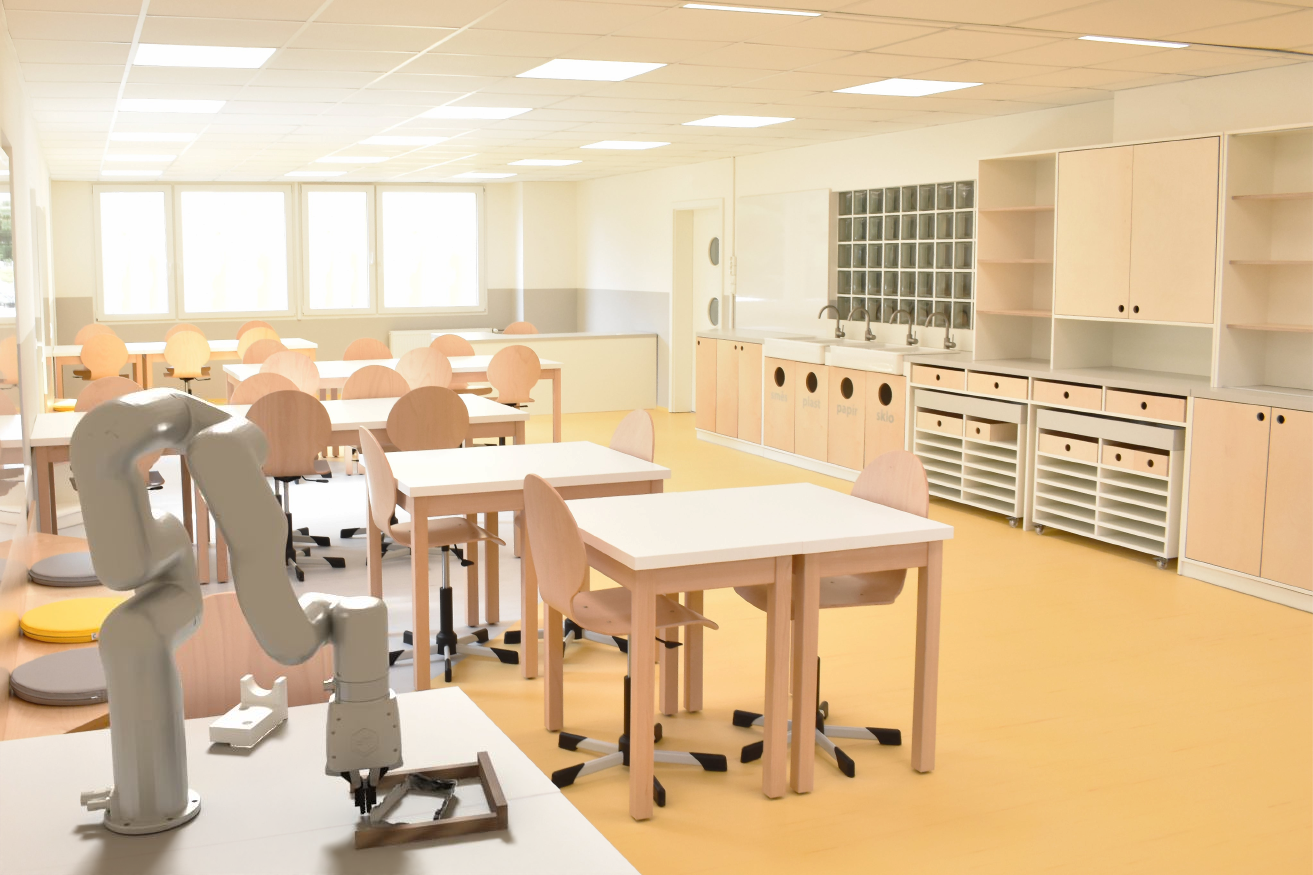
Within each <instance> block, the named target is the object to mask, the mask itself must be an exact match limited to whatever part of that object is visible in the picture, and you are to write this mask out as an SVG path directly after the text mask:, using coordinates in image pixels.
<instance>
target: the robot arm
mask: <svg viewBox="0 0 1313 875" xmlns="http://www.w3.org/2000/svg"><path fill="white" fill-rule="evenodd" d="M164 449H170V450H173V451H175V452H177V453H180V454H182V455H184V460H185V465H186V468H187V470H188V472H189V475H190V477H191V479H192V480H193V482H194V484H195V486H196V489H197V491H198V492H199V495H200V496H201V498H202V500H203V502H204V503H205V505H206V507H207V509H208V511H209V513H210V515H211V517H212V520H214V524H216V526H217V528H218V531H219V532H220V535H221V536H222V539H224V542H225V544H226V547H227V550H228V553H229V561H230V563H229V564H230V571H231V574H232V578H233V585H234V589H235V595H236V599H237V602H238V604H239V607H240V610H241V613H242V615H243V617H244V618H245V620H246V622H247V624H248V626H249V628H250V630H251V632H252V633H253V636H254V638H255V640H256V641H257V642H258V644H259V647H260V648H261V649H262V651H263V652H264V654H266V655H267V656H268V657H269V658H270V659H272V661H274V662H275V663H277V664H279V665H283V666H287V667H288V666H289V667H294V666H300V665H302V664H305V663H306V662H308V661H310V659H312V658H313V657H314V656H315V655H316V654H317V653H318V652H319V651H320V650H321V648H323V647H325V646H327V645H329V644H330V645H332V661H333V662H332V664H333V666H332V667H333V677H331V679H329V680H326V681H325V680H324V681H323V682H322V683H323V686H322V687H323V692H331V693H332V695H330V696H329V701H328V706H327V712H326V727H325V728H326V730H325V752H326V753H325V754H326V757H325V758H326V763H325V767H324V774H325V775H326V776H329V777H341V778H342V779H343V780H345V781H346V782H348V783H349V785H350V784H352V786H353V788H354V793H353V795H354V796H353V797H354V808H355V807H356V808H359V811H360V812H359V813H360V815H363V816H364V815H365V814H368V815H370V810H371V809H372V808H373V806H375V805H377V802H378V801H377V790H376V785H377V784H378V782H379V780H380V779H381V778H382V777H383V776H384V775H385V774H386V773H387V772H391V771H395V770H396V769H399V768H402V767H404V760H403V756H402V753H403V750H402V748H403V746H402V745H403V744H402V743H403V742H402V732H401V731H402V729H401V719H400V718H401V717H400V710H399V709H400V708H399V704H398V699H397V695H396V693H395V691H394V690H393V689H392V688H391V683H390V682H391V680H390V649H389V647H390V646H389V641H390V638H389V613H388V607H387V604H386V602H385V601H383V600H382V599H381V598H379V597H376V596H370V595H369V596H368V595H359V596H358V595H357V596H352V597H345V596H339V595H334V594H328V593H324V592H323V593H322V592H316V591H315V592H314V591H312V592H305V593H301V594H299V595H296V593H295V591H294V588H293V586H292V583H291V581H290V577H289V574H288V569H287V564H286V563H287V561H286V549H287V542H288V538H289V537H288V535H289V523H288V522H289V521H288V517H287V515H286V513H285V511H284V510H283V507H282V505H281V504H280V502H279V500H278V498H277V496H276V495H275V493H274V491H273V489H272V486H271V485H270V483H269V481H268V479H267V477H266V475H265V473H264V470H263V469H262V468H263V467H265V464H266V463H267V461H268V458H269V455H270V444H269V440H268V437H267V435H266V434H265V432H264V431H263V430H262V429H261V428H260V427H259V426H258V425H257V424H256V423H255V422H253V421H251V420H249V419H248V418H245V417H243V416H242V415H239V414H237V413H234V412H231V411H229V410H227V409H225V408H223V407H220V406H217V405H215V404H213V403H210V402H207V401H205V400H203V399H201V398H198V397H196V396H194V395H192V394H189V393H187V392H185V391H181V390H178V389H175V388H170V387H169V388H168V387H155V388H149V389H146V390H141V391H136V392H130V393H126V394H122V395H118V396H116V397H113V398H110V399H108V400H106V401H103V402H102V403H100V404H98V405H97V406H95V407H93V408H92V409H91V410H90V411H88V413H86V414H85V415H84V416H83V417H82V418H81V419H80V421H79V422H78V423H77V425H76V426H75V427H74V429H73V431H72V434H71V437H70V440H69V447H68V453H69V454H68V455H69V458H68V459H69V464H70V468H71V474H72V475H73V480H74V483H75V488H76V490H77V496H78V499H79V504H80V505H79V506H80V509H81V516H82V521H83V525H84V531H85V534H86V535H85V536H86V540H87V544H88V545H87V546H88V550H89V555H90V558H91V563H92V568H93V571H94V573H95V575H96V577H97V579H98V581H99V582H100V583H101V584H102V586H105V588H108V589H109V590H112V591H115V592H129V591H133V590H134V595H132V596H131V597H129V598H128V599H126V600H125V601H123V602H122V603H120V604H118V605H117V606H116V607H115V608H114V609H112V610H111V611H110V612H109V613H108V614H107V616H106V617H105V619H104V620H103V622H102V624H101V626H100V628H99V632H98V635H97V636H98V637H97V638H98V639H97V646H98V653H99V657H100V661H101V665H102V669H103V671H104V677H105V683H106V689H107V701H108V714H109V715H108V716H109V726H110V728H109V729H110V742H111V743H110V744H111V745H110V746H111V758H112V774H113V785H112V786H107V787H106V788H105V790H90V791H89V790H88V791H82V792H80V793H81V794H80V806H81V807H86V810H87V811H86V812H95V811H99V810H105V811H104V813H103V823H104V826H105V827H106V828H107V829H108V830H110V831H112V832H115V833H119V834H125V835H143V834H144V835H147V834H153V833H160V832H162V831H166V830H170V829H172V828H175V827H178V826H180V825H182V824H185V823H186V822H188V821H190V820H191V819H192V818H193V817H195V816H196V815H198V812H200V810H201V808H202V807H201V806H202V803H201V802H202V799H201V796H200V794H199V793H198V792H196V791H195V790H193V789H190V788H189V781H188V779H189V778H188V776H189V775H188V761H187V758H188V757H187V742H186V741H187V740H186V724H185V723H186V722H185V720H186V719H185V705H184V704H185V703H184V690H183V689H184V688H183V683H182V679H181V675H180V671H179V669H178V666H177V663H176V658H175V652H176V651H177V649H179V647H181V646H182V645H183V644H184V643H185V642H187V641H188V640H189V639H190V638H192V637H193V636H194V634H195V633H196V632H197V631H198V630H199V628H200V626H201V624H202V621H203V618H204V612H205V611H204V600H203V598H204V597H203V594H202V589H201V584H200V579H199V574H198V569H197V563H196V559H195V552H194V549H193V543H192V541H191V537H190V534H189V532H188V531H187V528H186V527H185V525H184V524H183V522H182V521H181V520H180V519H179V518H178V517H177V516H175V515H174V514H173V513H171V512H169V511H166V510H163V509H158V508H152V506H151V505H152V504H151V502H150V495H149V494H150V493H149V490H148V487H147V486H148V485H147V484H146V480H145V479H144V477H143V475H142V473H141V471H140V470H139V468H138V466H137V461H138V459H140V458H142V457H144V456H146V455H149V454H151V453H155V452H159V451H162V450H164ZM363 770H368V774H367V775H368V776H367V778H366V779H367V780H365V785H364V781H363V777H361V776H360V775H361V774H360V771H363Z"/></svg>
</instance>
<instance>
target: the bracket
mask: <svg viewBox="0 0 1313 875" xmlns="http://www.w3.org/2000/svg"><path fill="white" fill-rule="evenodd" d="M287 681H288V680H287V676H280V677H279V678H277V679H276V680H275V681H274V682H273V687H272V689H269V690H267V689H264V688H262V687H260V686H259V685H258V684H257V683H256V681H255V679H254V675H253V674H246V675H244V677H242V678H241V679H240V680H239V684H240V685H239V686H240V688H239V689H240V702H239V703H238V705H236V706H234V707H233V708H232V709H230V710H228V712H226V713H225V714H224V715H223V716H221V717H220V718H219V719H217V720H216V721H214V722H213V723H212V724H210V725H209V726H208V727H209V728H208V730H209V732H208V733H209V734H208V735H209V742H211V743H224V744H225V743H226V744H230V746H231V745H233V746H235V745H236V746H252V745H253V744H255V743H256V742H257V741H258V740H259V739H260V738H261V737H262V736H264V735H265V734H266V733H267V732H268V731H269V730H271V729H272V728H274V727H275V726H277V725H278V724H279V723H280V722H281V721H283V720H284V719H286V718H287V717H288V718H289V711H288V708H289V707H288V704H289V703H288V688H287V687H288V684H287ZM288 718H287V719H288ZM284 721H285V720H284ZM284 721H283V722H284ZM277 727H278V726H277Z"/></svg>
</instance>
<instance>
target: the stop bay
mask: <svg viewBox="0 0 1313 875" xmlns="http://www.w3.org/2000/svg"><path fill="white" fill-rule="evenodd" d="M476 753H477V755H476V756H477V757H476V760H477V761H471V762H464V763H463V762H462V763H454V764H453V763H452V764H446V765H445V764H444V765H438V766H429V767H421V768H412V769H405V770H404V769H403V770H393V771H388V772H387V773H386V774H385V775H384V776H383V777H382V778H381V779H380V780H379V782H378V784H377V785H376V791H378V790H385V789H394V787H395V786H396V785H397V784H398V785H399V784H401V785H400V786H401V787H402V785H403V783H404V779H406V778H407V775H408V773H411V772H412V773H419V774H421V775H423V776H426V777H428V778H429V779H433V778H438V779H444V780H450V779H455V780H457V781H458V780H467V779H475V778H478V779H479V782H480V785H481V788H482V790H483V793H484V796H485V799H486V802H487V805H488V807H489V811H490V812H488V813H482V814H481V813H480V814H474V815H467V816H465V815H464V816H459V817H458V816H457V817H453V818H443V819H442V818H441V819H440V820H434V821H433V820H429V821H428V820H427V821H422V822H421V821H420V822H413V823H409V824H404V825H397V826H389V827H382V828H375V827H373V828H370V829H369V828H367V829H361V830H359V829H358V830H355V831H354V842H355V843H354V845H355V850H360V849H368V848H376V847H382V846H383V847H384V846H389V845H397V844H405V843H410V842H412V841H413V842H419V841H427V840H433V839H432V838H434V839H440V837H442V838H447V837H454V836H455V837H456V836H463V835H470V834H476V833H483V832H484V833H485V832H493V831H499V830H505V829H506V830H507V829H508V828H509V808H508V807H509V805H508V802H507V799H506V797H505V794H504V792H503V789H502V786H501V783H500V781H499V778H498V776H497V774H496V770H495V769H494V766H493V765H494V764H493V763H492V761H491V758H490V755H489V752H488V751H487V750H485V751H484V750H483V751H477V752H476ZM368 775H369V774H364V775H363V774H362V775H361V774H360V776H361V777H363V781H364V785H365V780H367V779H366V778H367V776H368ZM349 791H350V794H351V793H353V794H354V788H353V786H352V784H350V783H349Z"/></svg>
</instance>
